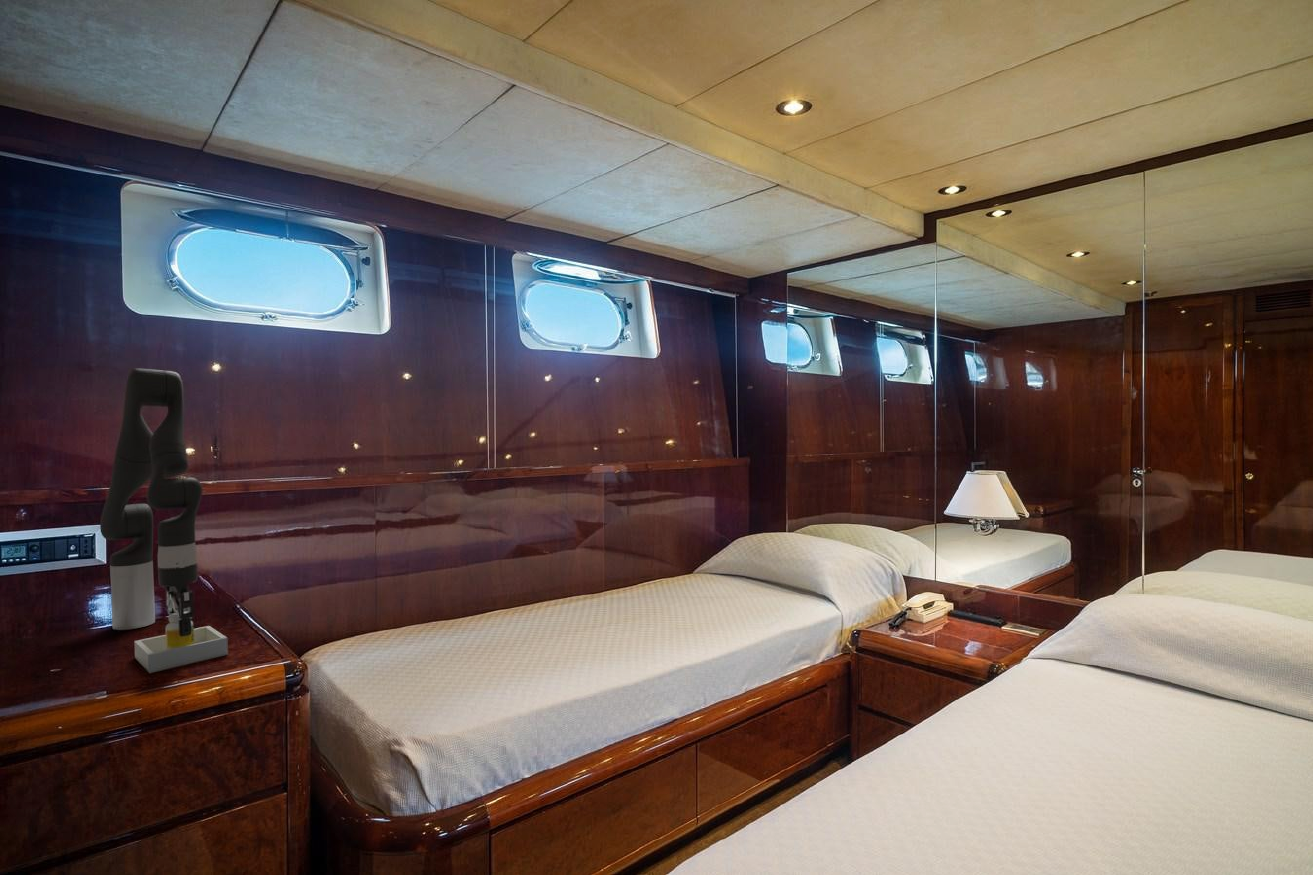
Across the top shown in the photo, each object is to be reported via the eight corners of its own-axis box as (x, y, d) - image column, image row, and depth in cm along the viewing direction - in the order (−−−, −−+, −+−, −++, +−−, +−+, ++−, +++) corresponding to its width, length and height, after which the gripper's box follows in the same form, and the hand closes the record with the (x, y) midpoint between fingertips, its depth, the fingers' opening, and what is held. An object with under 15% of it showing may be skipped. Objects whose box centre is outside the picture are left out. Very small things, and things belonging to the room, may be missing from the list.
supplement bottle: (164, 654, 157) (162, 614, 157) (191, 648, 161) (189, 609, 161) (169, 659, 153) (167, 618, 153) (197, 653, 157) (195, 613, 157)
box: (135, 657, 157) (134, 641, 157) (209, 641, 168) (209, 625, 168) (149, 673, 147) (148, 654, 146) (228, 654, 158) (227, 637, 158)
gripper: (151, 562, 159) (153, 629, 159) (165, 570, 149) (168, 642, 149) (188, 556, 164) (191, 622, 165) (205, 564, 155) (207, 633, 155)
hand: (180, 631), depth 157 cm, fingers open, 8 cm apart
